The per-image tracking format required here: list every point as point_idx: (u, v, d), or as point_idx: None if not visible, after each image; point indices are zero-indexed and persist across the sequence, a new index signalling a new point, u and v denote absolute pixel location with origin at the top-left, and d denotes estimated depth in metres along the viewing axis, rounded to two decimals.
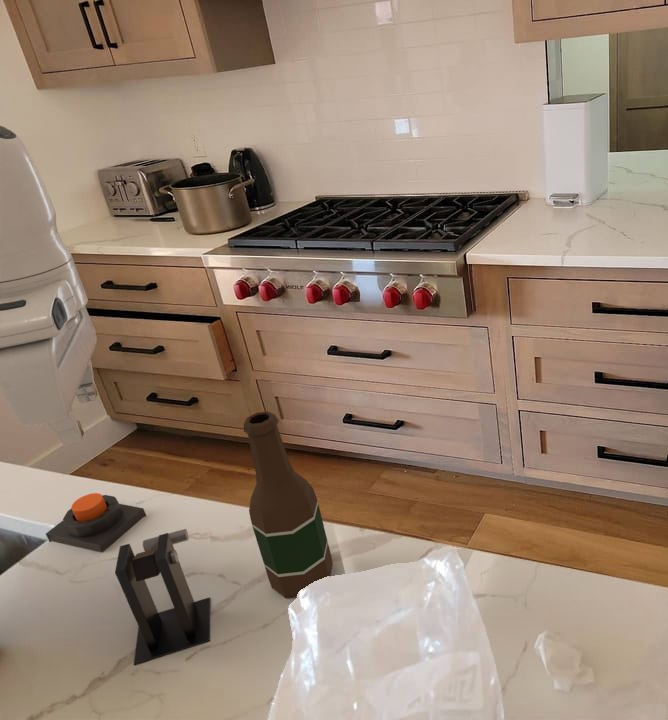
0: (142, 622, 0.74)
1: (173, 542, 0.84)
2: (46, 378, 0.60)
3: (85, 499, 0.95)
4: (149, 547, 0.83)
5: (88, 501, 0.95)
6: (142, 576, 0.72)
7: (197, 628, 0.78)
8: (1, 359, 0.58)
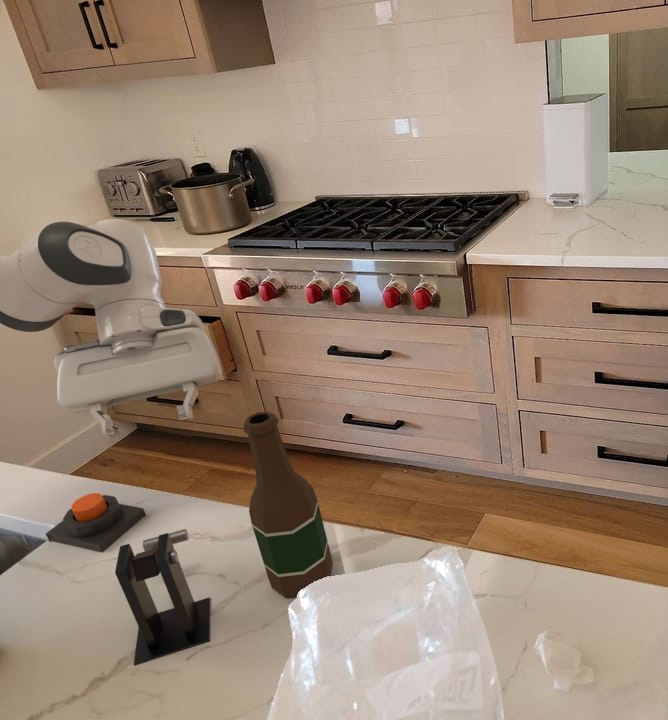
0: (142, 622, 0.74)
1: (173, 542, 0.84)
2: None
3: (85, 499, 0.95)
4: (149, 547, 0.83)
5: (88, 501, 0.95)
6: (142, 576, 0.72)
7: (197, 628, 0.78)
8: None
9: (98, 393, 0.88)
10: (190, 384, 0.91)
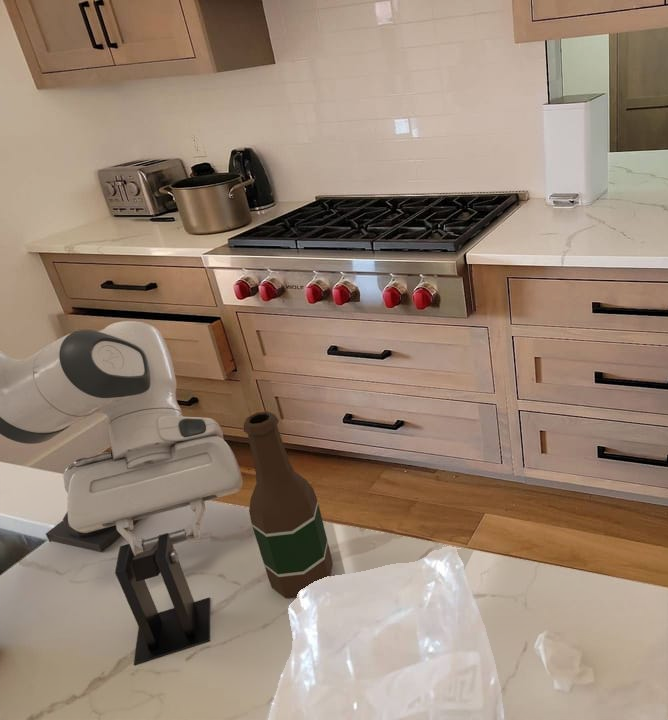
0: (142, 622, 0.74)
1: (173, 542, 0.84)
2: None
3: None
4: (149, 547, 0.83)
5: None
6: (142, 576, 0.72)
7: (197, 628, 0.78)
8: None
9: (112, 512, 0.83)
10: (198, 501, 0.86)
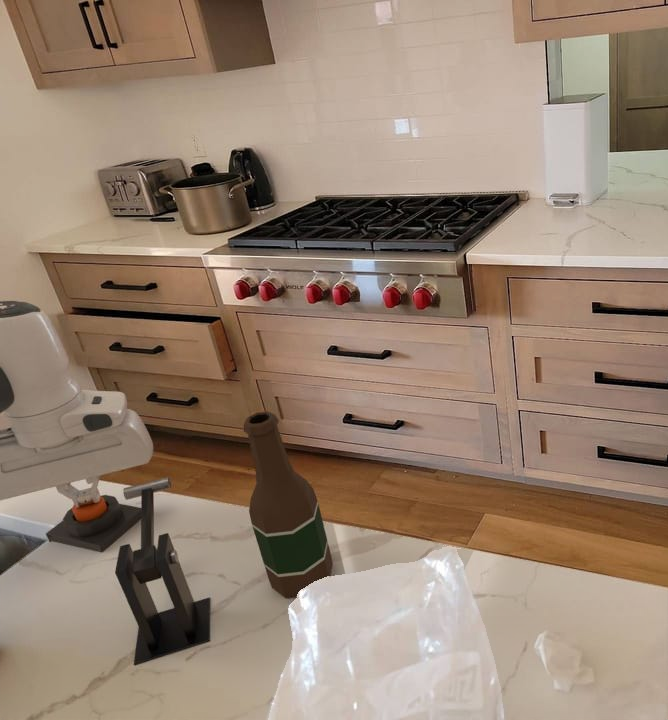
0: (142, 622, 0.74)
1: None
2: (143, 424, 0.95)
3: None
4: (131, 497, 0.81)
5: None
6: (145, 580, 0.73)
7: (197, 628, 0.78)
8: (130, 422, 0.91)
9: (30, 487, 0.89)
10: (94, 477, 0.93)
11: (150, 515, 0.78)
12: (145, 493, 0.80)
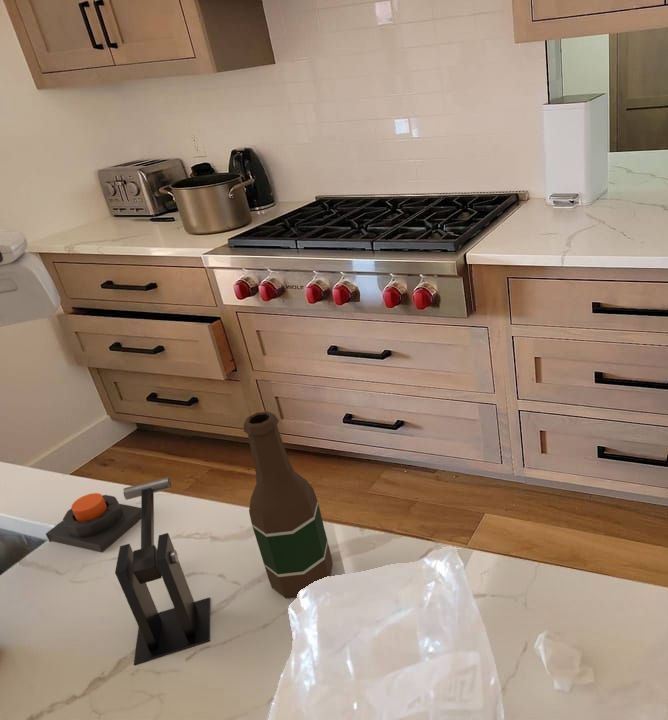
0: (142, 622, 0.74)
1: None
2: (47, 273, 0.81)
3: (85, 499, 0.95)
4: (131, 497, 0.81)
5: (88, 501, 0.95)
6: (145, 580, 0.73)
7: (197, 628, 0.78)
8: (27, 263, 0.77)
9: None
10: None
11: (150, 515, 0.78)
12: (145, 493, 0.80)
